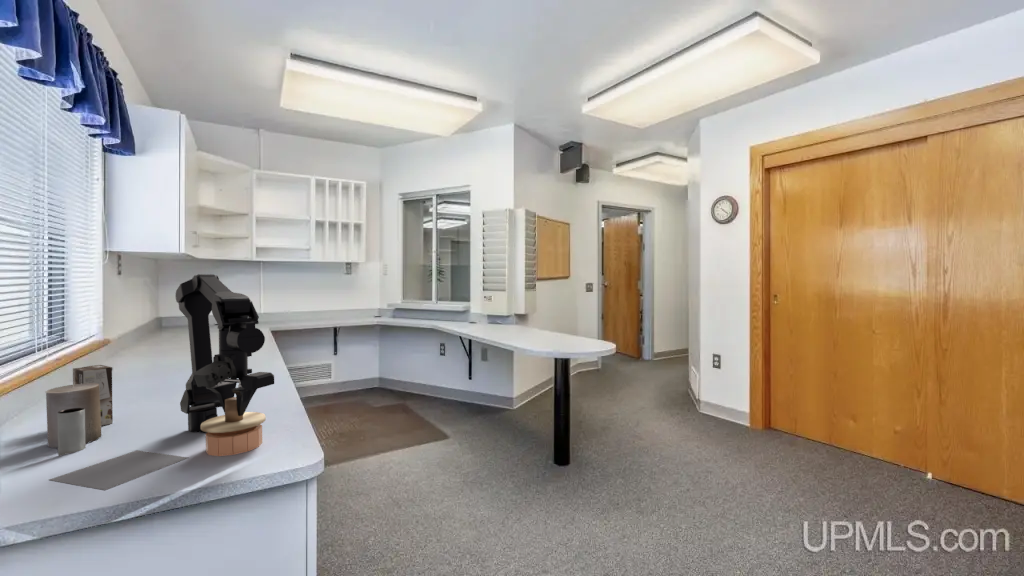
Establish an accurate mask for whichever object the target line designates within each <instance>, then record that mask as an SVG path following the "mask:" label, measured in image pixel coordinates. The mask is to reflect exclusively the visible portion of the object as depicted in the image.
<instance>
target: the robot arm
mask: <svg viewBox="0 0 1024 576" xmlns="http://www.w3.org/2000/svg"><path fill="white" fill-rule="evenodd" d="M175 300H176V301H175V302H176V303H178V309H179V311H180V312H181V314H182V315H184V317H185V318H186V319H187V328H188V338H189V349H190V351H189V352H190V361H191V372H192V373H191V374H190V376H189V378H188V379H187V381H186V382H185V390H184V392H183V394H182V396H181V400H180V402H179V405H180V406H179V407H180V411H181V412H182V413H184V414H186V415H187V432H190V433H200V434H206V433H207V432H204V431H202V430H201V423H203V422H204V421H206V420H208V419H211V418H214V417H218V408H222V410H223V412H224V414H225V399H228V398H233V397H236V399H237V411H238V416H242V415H243V414H244V413H245V412H247V411H246V410H247V409H248V406H249V404H250V402H251V400H252V398H253V396H254V395H255V393H256V392H257V390H258V389H261V388H265V387H268V386H272V385H275V374H273V373H272V372H268V371H258V372H253V369H252V368H249V364H248V362H249V360H248V357H252V356H253V354H254V353H256V352H258V351H260V350H261V349H262V348H263V346H264V344H265V341H266V337H265V334H264V333H263V331H262V330H261V329H260V328H258V327H256V325H258V324H260V323H259V319H260V318H259V317H260V316H259V314H258V312H257V310H256V308H255V305H254V303H253V301H252V300H251V299H250V297H249V296H247V295H245V294H243V293H240V292H234V291H232V290H230V288H229V287H227V286H226V284H224V283H223V282H222V281H221V280H220V278H219V276H218V275H215V274H211V273H210V274H208V273H207V274H206V273H204V274H203V273H201V274H199V273H198V274H195V275H194V276H193V277H192V278H191V279H189V280H186V281H184V282H182V283H180V284H179V286H178V287H177V289H175ZM211 313H212V316H213V318H214V319H215V322H216V323H217V329H218V353H217V354H214V356H213V353H212V352H213V351H212V340H211V330H210V319H209V315H210V314H211ZM237 384H238V385H237Z"/></svg>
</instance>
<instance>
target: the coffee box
mask: <svg viewBox="0 0 1024 576" xmlns="http://www.w3.org/2000/svg"><path fill="white" fill-rule="evenodd" d="M74 382H75V384H84V383H97V384H99V392H100V411H101V427H102V426H107V425H112V424H113V420H114V419H113V367H111V366H108V365H103V364H96V365H87V366H83V367H76V368H72V385H73V384H74Z"/></svg>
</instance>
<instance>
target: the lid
mask: <svg viewBox="0 0 1024 576" xmlns="http://www.w3.org/2000/svg"><path fill="white" fill-rule="evenodd" d="M266 420H267V419H266V414H265V413H263V412H257V411H256V412H255V411H245V413H244V414H243V415H242V416H238V411H237V399H236V396H234V397H233V398H228V399H225V413H224V414H223V415H219V416H218V417H214V418H211V419H208V420H206V421H204V422H203V423H201V430H202V431H204V432H209V433H224V432H233V431H239V430H243V429H248V428H251V427H254V426H257V425H259V424H261V425H262V424H263V423H265V421H266Z"/></svg>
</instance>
